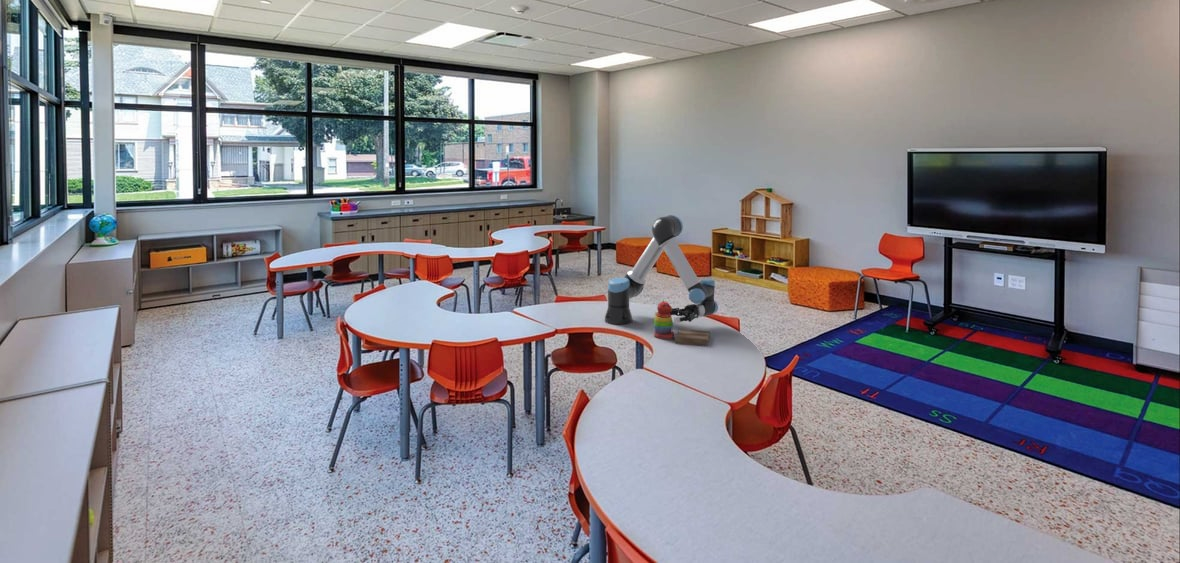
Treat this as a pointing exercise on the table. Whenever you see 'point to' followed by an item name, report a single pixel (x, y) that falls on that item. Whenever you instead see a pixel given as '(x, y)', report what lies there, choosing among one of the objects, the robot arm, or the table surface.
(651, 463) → the table surface
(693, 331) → the walnut plinth
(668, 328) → the stacking bear
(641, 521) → the table surface
